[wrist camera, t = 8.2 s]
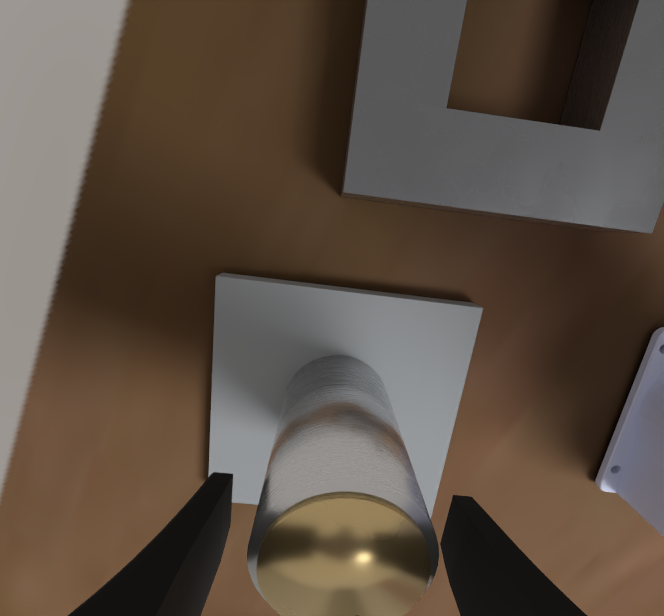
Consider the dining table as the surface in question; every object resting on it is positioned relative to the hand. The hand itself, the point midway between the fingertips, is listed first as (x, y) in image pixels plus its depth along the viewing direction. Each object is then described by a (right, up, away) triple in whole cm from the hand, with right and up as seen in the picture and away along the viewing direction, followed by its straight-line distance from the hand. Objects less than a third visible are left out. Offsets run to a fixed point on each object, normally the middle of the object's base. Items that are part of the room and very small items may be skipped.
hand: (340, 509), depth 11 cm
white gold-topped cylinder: (0, +2, +5) cm, 6 cm away
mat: (0, +2, +6) cm, 7 cm away
